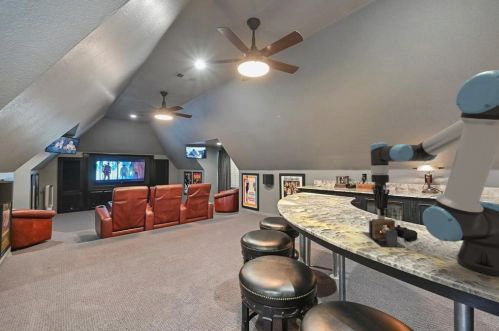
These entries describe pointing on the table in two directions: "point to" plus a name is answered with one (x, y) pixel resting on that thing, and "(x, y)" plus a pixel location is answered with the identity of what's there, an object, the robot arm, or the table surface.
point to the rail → (390, 237)
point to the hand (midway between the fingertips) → (381, 221)
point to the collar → (376, 227)
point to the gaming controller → (406, 233)
